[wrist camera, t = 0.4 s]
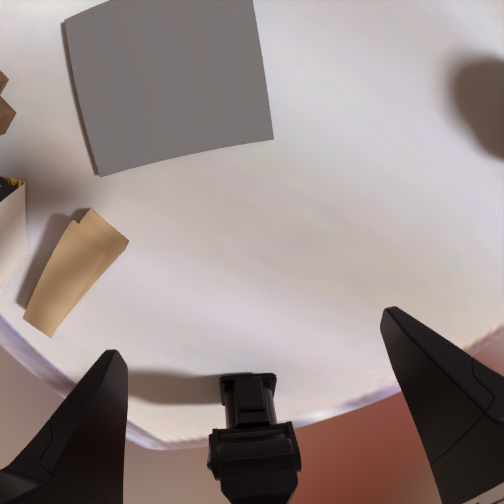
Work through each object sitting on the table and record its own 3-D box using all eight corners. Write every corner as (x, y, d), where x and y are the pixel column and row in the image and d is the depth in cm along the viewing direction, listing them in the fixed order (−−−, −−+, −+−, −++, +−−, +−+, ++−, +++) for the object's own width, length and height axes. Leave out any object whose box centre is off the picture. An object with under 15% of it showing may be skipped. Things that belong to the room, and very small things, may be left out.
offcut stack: (129, 240, 22) (121, 258, 20) (58, 322, 26) (50, 339, 24) (85, 203, 20) (73, 217, 18) (25, 297, 24) (15, 312, 22)
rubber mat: (272, 137, 19) (273, 139, 19) (102, 174, 19) (100, 177, 19) (245, -28, 13) (246, -31, 12) (68, 20, 12) (64, 20, 12)
